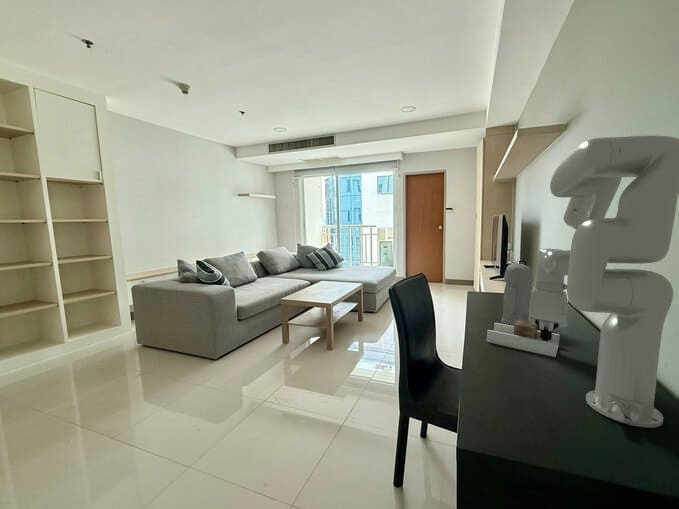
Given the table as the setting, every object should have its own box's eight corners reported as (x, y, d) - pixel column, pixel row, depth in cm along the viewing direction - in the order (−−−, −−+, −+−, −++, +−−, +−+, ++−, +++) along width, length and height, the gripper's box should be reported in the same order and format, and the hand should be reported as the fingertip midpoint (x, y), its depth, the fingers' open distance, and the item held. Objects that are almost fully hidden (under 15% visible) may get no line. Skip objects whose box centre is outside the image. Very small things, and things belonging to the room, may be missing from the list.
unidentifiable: (527, 329, 121) (531, 266, 119) (498, 324, 127) (501, 264, 125) (533, 320, 132) (536, 262, 130) (506, 316, 139) (509, 261, 136)
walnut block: (536, 339, 107) (537, 322, 106) (533, 345, 102) (534, 328, 101) (517, 335, 111) (518, 319, 110) (513, 341, 105) (514, 324, 105)
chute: (558, 345, 105) (559, 334, 105) (555, 357, 96) (556, 344, 96) (494, 332, 118) (495, 322, 117) (486, 341, 109) (487, 330, 108)
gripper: (578, 287, 99) (574, 343, 101) (525, 282, 108) (521, 332, 110) (577, 291, 93) (573, 350, 95) (521, 285, 103) (517, 338, 104)
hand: (545, 340), depth 102 cm, fingers closed
